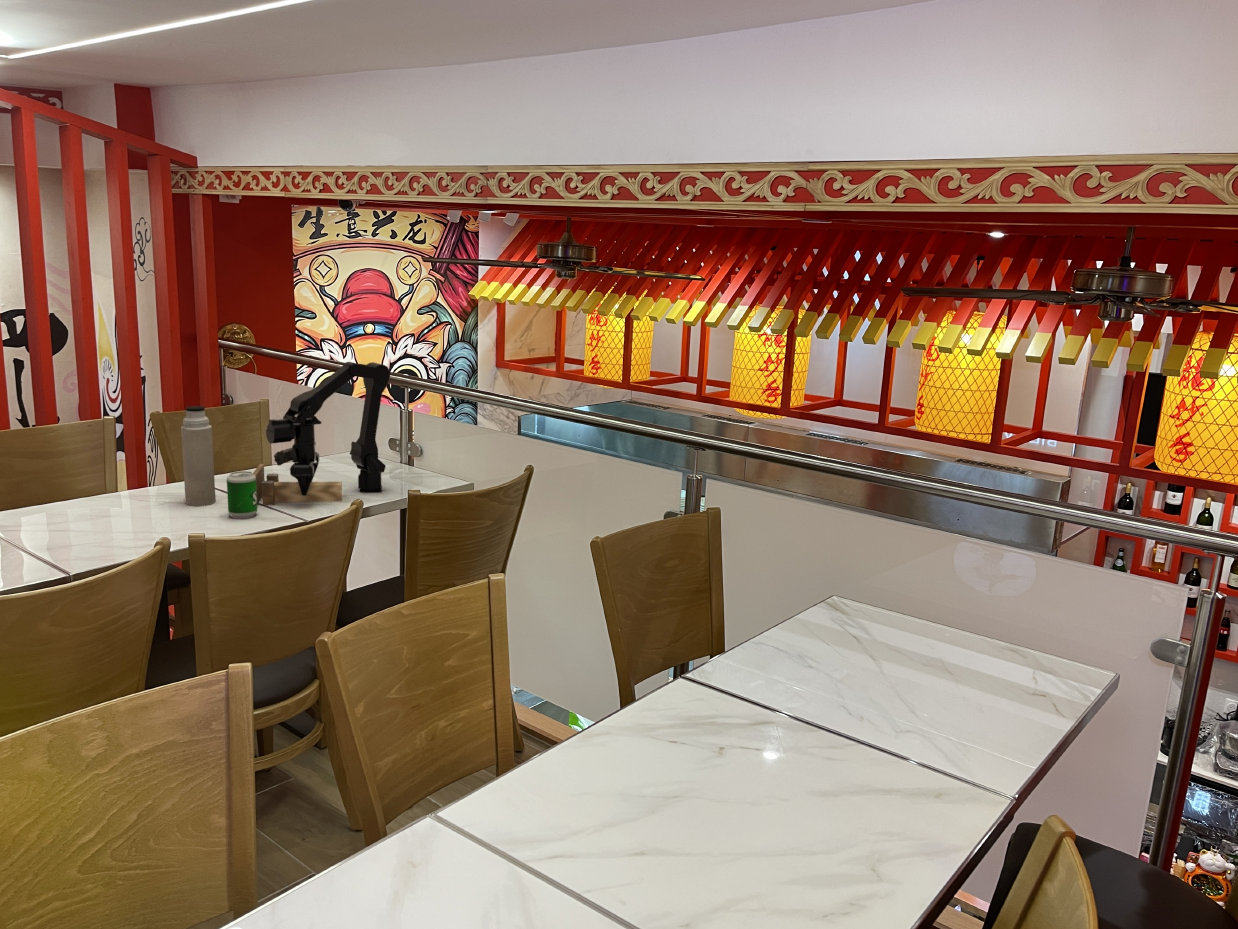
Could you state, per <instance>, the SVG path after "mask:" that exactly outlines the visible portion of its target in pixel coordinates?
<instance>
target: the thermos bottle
mask: <svg viewBox="0 0 1238 929" xmlns="http://www.w3.org/2000/svg"><path fill="white" fill-rule="evenodd" d="M205 409H206V408H205V406H201V405H195V406H194V405H191V406H186V407H185V411H186V412H185V418H183V420H182V424H183V425H182V426H181V427H180V433H181V434H180V435H181V448H182V450H181V451H182V464H183V465H182V466H183V481H184V499H185V500H184V501H185V504H186V505H187V504H188V505H187V506H190V505H193V506H192V507H202V506H204V505H205V506H210V505H212V504H215V503H216V502H217V500H216V498H217V497H216V485H215V484H216V482H215V470H214V468H215V467H214V466H215V465H214V447H213V446H214V445H213V444H214V443H213V430H212V429H213V426H212V425H210V420H209V417H208V416H206V412H205Z"/></svg>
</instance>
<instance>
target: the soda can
mask: <svg viewBox="0 0 1238 929" xmlns="http://www.w3.org/2000/svg"><path fill="white" fill-rule="evenodd" d="M253 473H254V472H253V471H247V470H241V471H240V470H238V471H233V472H231V473H229V475H227V477H226V491H227V495H226V496H227V509H228V510H227V512H228V514H229V515H230V516H231V517H232V518H234V519H249V518H253V517H254V516H255V515H256V514H257V513H258V505H257V490H256V476H255V475H254V474H253Z"/></svg>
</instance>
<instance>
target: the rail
mask: <svg viewBox="0 0 1238 929" xmlns="http://www.w3.org/2000/svg"><path fill="white" fill-rule="evenodd" d="M342 483H343V482H342V481H312V482H311V483H310V486H309V489H308V492H307V494H306V496H303V495H302V493H301V490H300V486H299V483H298V481H279V482H274V493H275V503H282V502H283V503H290V502H291V503H292V502H293V503H294V502H298V503H299V502H301V503H302V502H303V503H304V502H305V503H306V502H308V503H309V502H310V503H311V502H342V500H343V486H342V485H343V484H342ZM341 499H342V500H341Z"/></svg>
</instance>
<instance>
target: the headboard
mask: <svg viewBox="0 0 1238 929" xmlns="http://www.w3.org/2000/svg"><path fill="white" fill-rule="evenodd" d="M252 473H253V474H254V475H255V476H256V490H257V506H258V505H259V503H260V501H261V500H262V505H263V506H274V505H275V503H276V502H275V493H274V482H280V480H279V473H267V474H266V476H265V463H260V464H258V466H257V467H256V468H255V470H254V471H253V472H252ZM265 477H266V480H265Z"/></svg>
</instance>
